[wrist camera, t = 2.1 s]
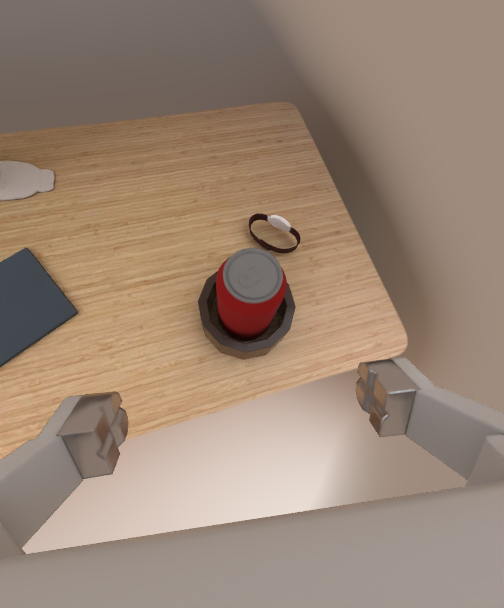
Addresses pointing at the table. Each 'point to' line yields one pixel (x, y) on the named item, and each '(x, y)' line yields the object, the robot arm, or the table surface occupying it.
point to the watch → (277, 223)
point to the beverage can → (249, 292)
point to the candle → (23, 180)
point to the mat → (28, 304)
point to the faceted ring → (238, 347)
